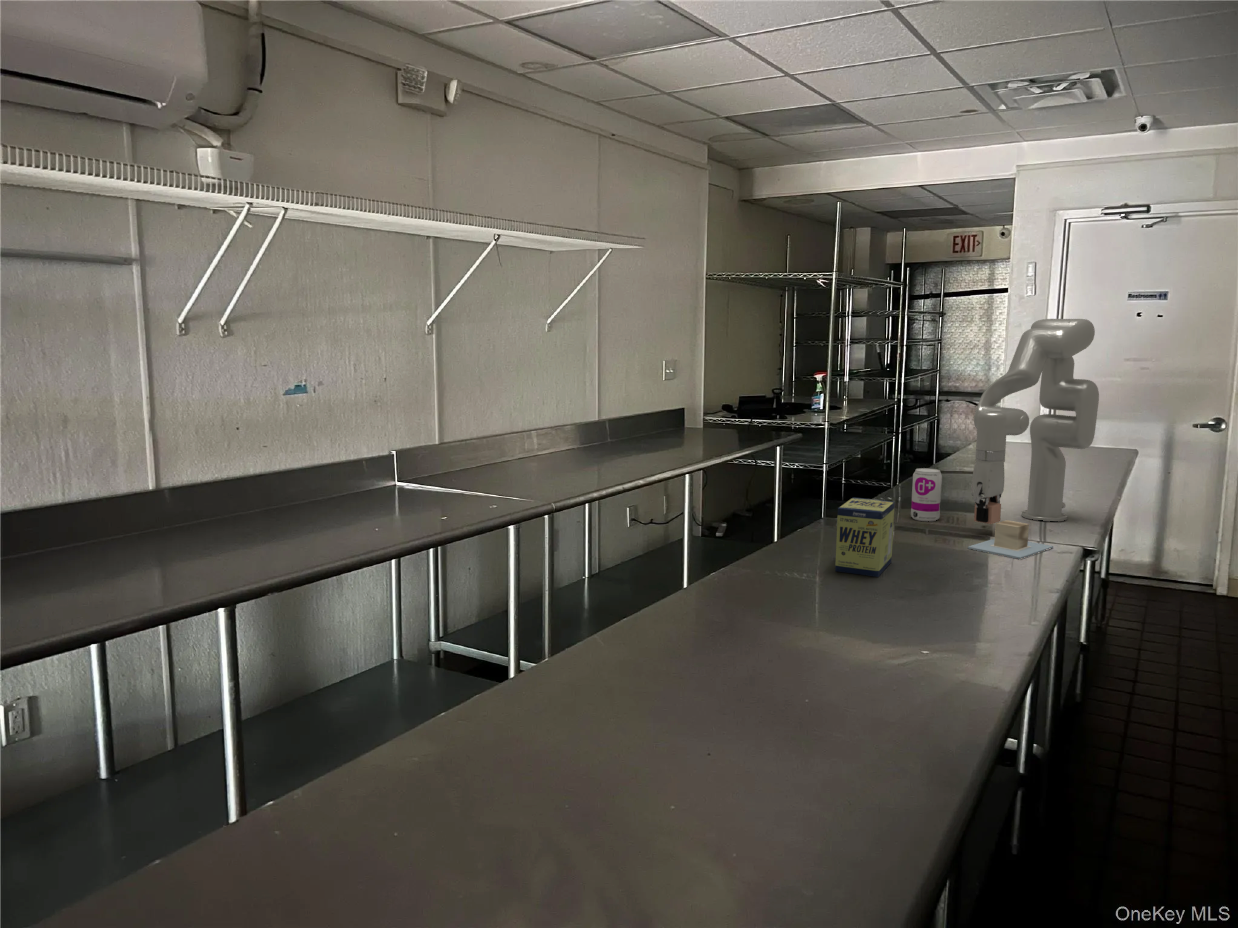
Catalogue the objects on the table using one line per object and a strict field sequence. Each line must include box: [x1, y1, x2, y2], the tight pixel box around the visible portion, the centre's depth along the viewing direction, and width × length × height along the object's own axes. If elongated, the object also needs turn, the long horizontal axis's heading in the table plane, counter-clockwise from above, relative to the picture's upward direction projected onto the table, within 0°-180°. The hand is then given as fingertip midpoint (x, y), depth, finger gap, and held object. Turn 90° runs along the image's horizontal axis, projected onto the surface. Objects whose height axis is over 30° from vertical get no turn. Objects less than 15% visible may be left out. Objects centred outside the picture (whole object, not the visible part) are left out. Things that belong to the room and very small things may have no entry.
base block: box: [993, 519, 1030, 550], centre depth 232 cm, size 6×6×6 cm
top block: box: [973, 500, 1002, 525], centre depth 247 cm, size 5×5×5 cm
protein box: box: [834, 497, 896, 578], centre depth 213 cm, size 10×16×16 cm
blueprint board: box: [967, 538, 1054, 560], centre depth 232 cm, size 18×14×1 cm
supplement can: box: [910, 467, 943, 522], centre depth 267 cm, size 8×8×15 cm
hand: (987, 519), depth 247 cm, fingers closed on top block, 5 cm apart
